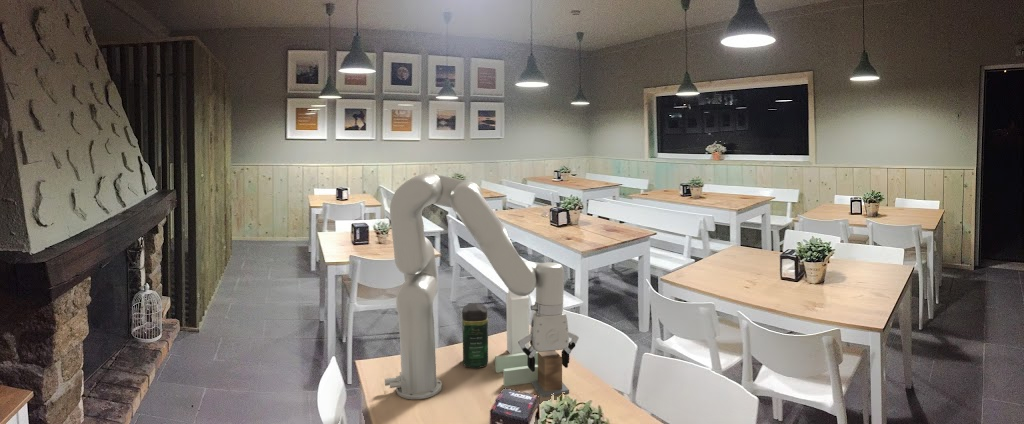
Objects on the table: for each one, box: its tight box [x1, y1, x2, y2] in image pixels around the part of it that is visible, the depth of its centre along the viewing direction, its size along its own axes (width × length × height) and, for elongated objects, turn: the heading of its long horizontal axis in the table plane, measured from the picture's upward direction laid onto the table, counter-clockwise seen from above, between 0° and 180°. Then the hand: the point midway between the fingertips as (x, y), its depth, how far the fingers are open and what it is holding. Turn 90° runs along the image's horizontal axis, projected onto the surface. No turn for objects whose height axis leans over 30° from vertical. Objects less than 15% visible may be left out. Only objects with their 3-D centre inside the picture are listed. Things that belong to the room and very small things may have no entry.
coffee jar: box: [461, 302, 489, 369], centre depth 167 cm, size 10×8×19 cm
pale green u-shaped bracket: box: [494, 352, 538, 387], centre depth 160 cm, size 17×11×4 cm, turn 106°
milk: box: [505, 288, 530, 355], centre depth 175 cm, size 6×6×22 cm
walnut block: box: [538, 350, 563, 392], centre depth 150 cm, size 5×6×9 cm
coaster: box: [531, 381, 570, 398], centre depth 151 cm, size 8×8×1 cm
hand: (548, 367), depth 150 cm, fingers open, 9 cm apart
